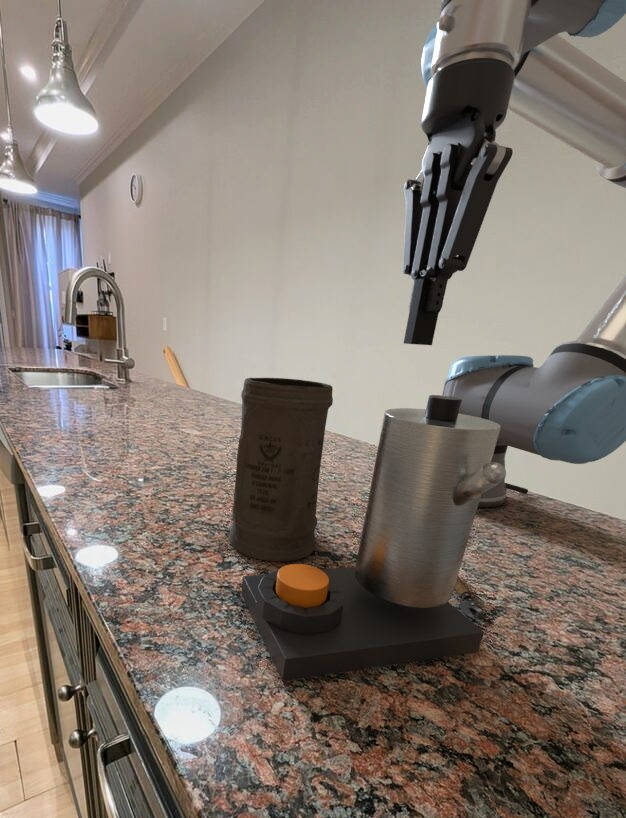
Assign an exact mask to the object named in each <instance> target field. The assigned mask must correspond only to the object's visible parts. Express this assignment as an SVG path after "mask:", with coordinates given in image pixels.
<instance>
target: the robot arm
mask: <svg viewBox="0 0 626 818" xmlns="http://www.w3.org/2000/svg"><path fill="white" fill-rule="evenodd" d="M440 6H441V7H440V13H439V19H438V20H437V23H436V24H435V25H434V27H433V28H432V29H431V31H430V32H429V33H428V36H426V37H427V38H426V39H425V43H424V46H423V49H422V52H421V53H422V54H421V60H420V61H421V64H420V66H421V67H420V68H421V75H422V80H423V83H424V85H425V87H426V91H425V97H424V103H423V108H422V114H421V115H422V116H421V120H420V127H421V130H422V132H423V133H425V135H426V137H427V140H428V143H427V147H426V149H425V153H424V155H423V158H422V160H421V170H420V171H419V173H418V175H417V176H416V178H415V179H410V178H408V179H407V180H406V181H405V183H404V185H403V194H404V199H405V219H404V237H403V239H404V241H403V256H402V274H404V275H408V276H410V277H411V279H412V281H413V283H412V289H411V294H410V301H409V305H408V312H409V313H408V317H407V322H406V328H405V333H404V339H403V344H406V345H418V346H419V345H421V346H433V341H434V336H435V333H436V328H437V323H438V317H439V313H440V312H441V310H442V308H443V304H444V299H445V295H446V291H447V290H446V289H447V286H448V282H449V280H450V279H451V278H452V277H453V275H454V274H455V273H457V272H463V271H465V269H466V268H467V266H468V263H469V261H470V258H471V255H472V252H473V250H474V247H475V245H476V241H477V239H478V236H479V234H480V230H481V228H482V226H483V222H484V220H485V217H486V215H487V211H488V209H489V207H490V204H491V201H492V198H493V195H494V193H495V190H496V187H497V185H498V182H499V180H500V178H501V176H502V174H503V173H504V171H505V169H506V168H507V166H508V164H509V162H510V160H511V159H512V156H513V153H514V152H513V148H512V147H507V146H504V145H500V144H498V143H497V142H496V137H497V132H496V130H497V129H498V128H499V127H500V126H501V125H502V124H503V123H504V121H505V120H506V117H507V114H508V113H509V114H510V115H512V116H514V117H516V118H518V119H519V120H522V121H523V122H524V123H527V124H528V125H530V126H532V127H534V128H535V129H537V130H539V131H541V132H542V133H544V134H546V135H548V136H550V137H551V138H553V139H554V140H557V141H558V142H560V143H562V144H564V145H565V146H567V147H569V148H571V149H572V150H574V151H576V152H577V153H579V154H581V155H583V156H585V157H586V158H588V159H590V160H591V161H593V162H595V169H596V172H597V174H598V176H600V177H602V178H603V179H605V180H607V181H609V182H611V183H612V184H615V185H617V186H619V187H622V188H624V189H626V80H624V79H622V78H621V77H620V76H618V75H616V74H615V73H613V72H612V71H611V70H610V69H608V68H606V67H605V66H604V65H602V64H601V63H599V62H598V61H596V60H595V59H594V58H592V57H590V56H589V55H588V54H586V53H585V52H583V51H582V50H581V49H579V48H578V47H577V46H575V45H574V44H573V43H570V42H569V41H568V40H567V39H565V38H563V37H562V36H560V35H559V34H561V33H564V32H565V33H567V34H568V35H569V36H570V37H573V38H575V37H580V38H581V37H582V38H593V37H594V38H595V37H598V36H600V35H602V34H603V33H605V32H607V31H608V30H610V29H611V28H612V27H614V26H615V25H616V24H617V23H619V21H621V19H622V18H624V16H625V15H626V0H441V5H440ZM441 396H450V397H456V398H460V399H462V402H461V406H460V410H459V414H464V415H470V416H474V417H479V418H483V419H487V420H490V421H493V422H495V423H497V424H499V425H500V426H501V429H500V432H499V436H498V439H497V443H496V446H495V449H494V453H493V456H492V460H491V462H497V463H500V464H501V465H503V466H504V468H505V469H506V454H507V450H508V447H511V448H515V449H518V450H520V451H523V452H527V453H531V454H534V455H537V456H540V457H542V458H543V459H547V460H549V461H558V462H564V463H569V464H573V465H585V464H588V463H593V462H597V461H599V460H602V459H604V458H606V457H607V456H609V455H611V454H612V453H614V452H615V451H616V450H617V449H619V448H620V447H621V446H622V445H623V444H624V443H626V274H624V275H623V277H622V279H621V280H620V281H619V282H618V284H617V285H616V287H615V288H614V289H613V290H612V292H611V293H610V295H608V297H607V298H606V300H605V301H604V302H603V303H602V305H601V306H600V307H599V309H598V310H597V311H596V313H595V314H594V315H593V317H592V318H591V319H590V321H589V322H588V323H587V324H586V326H585V327H584V328H583V330H581V332H580V334H579V335H578V337H576V339H575V340H569V341H566V342H562V343H560V344H558V345H556V347H555V348H554V349H553V350H552V351H551V353H550V354H549V355H548V356H547V358H546V359H545V360H544V362H543V363H542V364H541V365H540V366H539V367H537V366H534V358H533V357H531V356H527V355H517V354H516V355H515V354H513V355H510V354H509V355H508V354H500V355H499V354H498V355H490V354H487V355H469V356H463V357H459V358H457V359H455V360H454V361H453V362H452V363H451V365H450V367H449V370H448V374H447V377H446V379H445V381H444V385H443V390H442V395H441ZM505 481H506V478H505V479H504V480H503V481H502V482H501V483H500V484H498V485H496V486H495V487H493V488H491V489H489V490H488V491H486V492H484V493H483V494H481V498H480V501H479V505H478V508H494V507H499V506H502V504H504V503H505V499H506V495H507V490H510V491H514V492H518V493H520V494H525V495H526V494H528V493H529V490H528V489H529V488H525V487H521V486H518V485H515V484H511V483H508V482H505Z"/></svg>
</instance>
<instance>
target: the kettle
mask: <svg viewBox="0 0 626 818" xmlns="http://www.w3.org/2000/svg"><path fill="white" fill-rule="evenodd" d="M461 402H462V399H460V398H456V397H450V396H442V395H441V394H430V395H429V396H428V399H427V403H426V407H425V408H410V407H409V408H407V407H404V408H403V407H401V408H400V407H399V408H397V407H396V408H389V409H386V410H384V413H383V419H382V424H381V430H380V435H379V440H378V445H377V450H376V456H375V462H374V467H373V472H372V476H371V482H370V486H369V487H370V488H369V493H368V498H367V503H366V509H365V515H364V520H363V524H362V529H361V534H360V541H359V546H358V551H357V556H356V561H355V566H354V567H355V577H356V579H357V581H358V582H359V583H360V585H361V586H362V587H364V588H365V589H366V590H367V591H369V592H370V593H372V594H374V595H376V596H377V597H379V598H382V599H384V600H387V601H389V602H392V603H396V604H399V605H403V606H409V607H417V608H431V607H437V606H441V605H443V604H445V603H447V602H450V600H451V599H452V597H453V594H454V590H455V588H454V587H455V584H456V580H457V577H458V576H459V573H460V570H461V566H462V562H463V559H464V555H465V553H466V549H467V545H468V542H469V539H470V535H471V532H472V529H473V525H474V523H475V522H474V521H475V518H476V514H477V511H478V508H479V507H478V505H479V501H480V498H481V494H483V493H484V492H486V491H488V490H489V489H491V488H493V487H495V486H496V485H498V484H500V483H501V482H502V481H503V480H504V479H505V480H506V477H507V469H506V467H505V468H504V466H503V465H501V464H500V463H497V462H491V460H492V456H493V453H494V449H495V446H496V443H497V439H498V436H499V432H500V429H501V426H500V425H499V424H497V423H495V422H493V421H490V420H487V419H483V418H479V417H474V416H470V415H464V414H459V410H460V406H461Z"/></svg>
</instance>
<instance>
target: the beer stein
mask: <svg viewBox="0 0 626 818" xmlns="http://www.w3.org/2000/svg"><path fill="white" fill-rule="evenodd" d="M240 397H241V422H240V423H241V425H240V435H239V437H238V444H237V451H236V452H237V453H236V466H235V479H234V490H233V492H234V493H233V504H232V513H231V518H232V525H231V527H230V529H229V536H228V540H229V543H230V545H231V546H232V547H233V548H234V549H235V550H236V551H237V552H238V553H241V554H242V555H244V556H246V557H249V558H252V559H254V560H259V561H267V562H277V563H278V562H279V563H281V562H282V563H284V562H285V563H286V562H288V563H289V562H295V561H299V560H301V559H304V558H306V557H309V556H310V555H311V554H312V553H313V552H314V550H315V548H316V535H315V530H316V527H317V526H318V518H317V507H318V505H317V504H318V496H319V495H318V493H319V482H320V475H321V474H320V473H321V464H322V457H323V449H324V448H323V447H324V441H325V435H326V434H325V433H326V426H327V420H328V414H329V409H330V408H331V407H332V406H333V403H334V402H333V401H334V398H333V386H332V385H331V384H328V383H324V382H320V381H319V382H318V381H312V380H303V379H297V378H295V379H293V378H283V377H247V378H245V379H244V382H243V388H242V390H241V394H240Z"/></svg>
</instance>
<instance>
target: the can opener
mask: <svg viewBox="0 0 626 818" xmlns="http://www.w3.org/2000/svg"><path fill="white" fill-rule="evenodd" d="M454 590H455V591H456V592H457V594H458V596H459V597H460V599H462V600H463V601H461V602H460V603H459V608H460V609H461V611H462V612H463V614H464V615H465V616H466V617H469V618H471V619H473V620H475V621H477V619H483V618H484V610H483V608H485V604H484V603H483V602H482V601H480V600H477V599H473V596H472V593H471V592H470V591H469V589H468V588H467V587H466V586H465V584H464V582H463V581H462V579H461V577H460V576H459V575H458V577H457V580H456V584H455V587H454ZM477 605H480V606H481V608H480V607H478V606H477ZM470 609H471V610H470ZM472 612H473V613H472ZM475 616H476V617H475Z"/></svg>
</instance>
